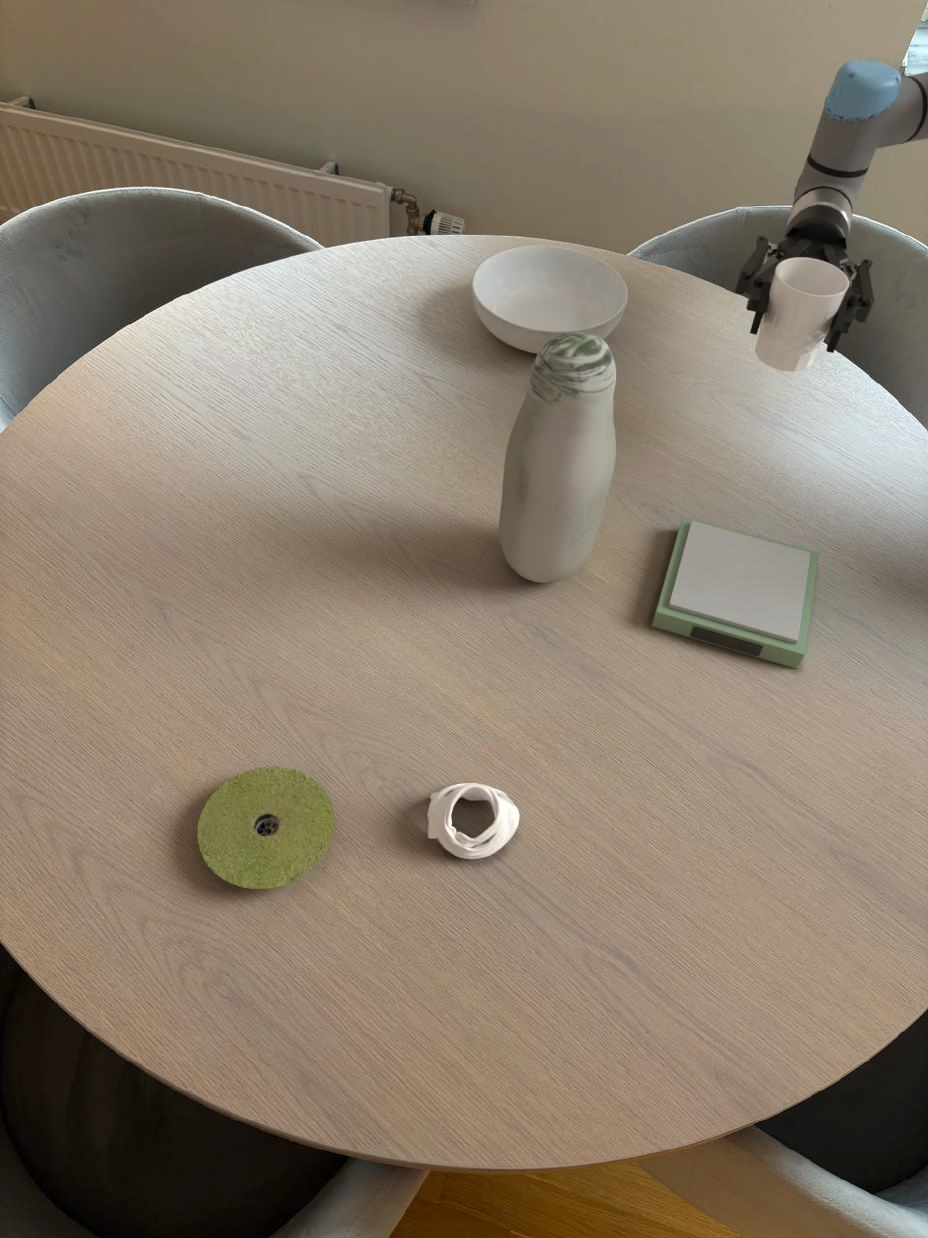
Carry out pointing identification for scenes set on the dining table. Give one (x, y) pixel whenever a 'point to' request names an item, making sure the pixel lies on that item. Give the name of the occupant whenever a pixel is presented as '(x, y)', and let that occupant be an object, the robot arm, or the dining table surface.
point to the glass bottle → (559, 459)
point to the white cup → (799, 312)
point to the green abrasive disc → (265, 827)
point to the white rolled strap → (460, 842)
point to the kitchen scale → (738, 592)
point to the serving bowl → (547, 295)
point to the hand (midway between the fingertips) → (795, 332)
